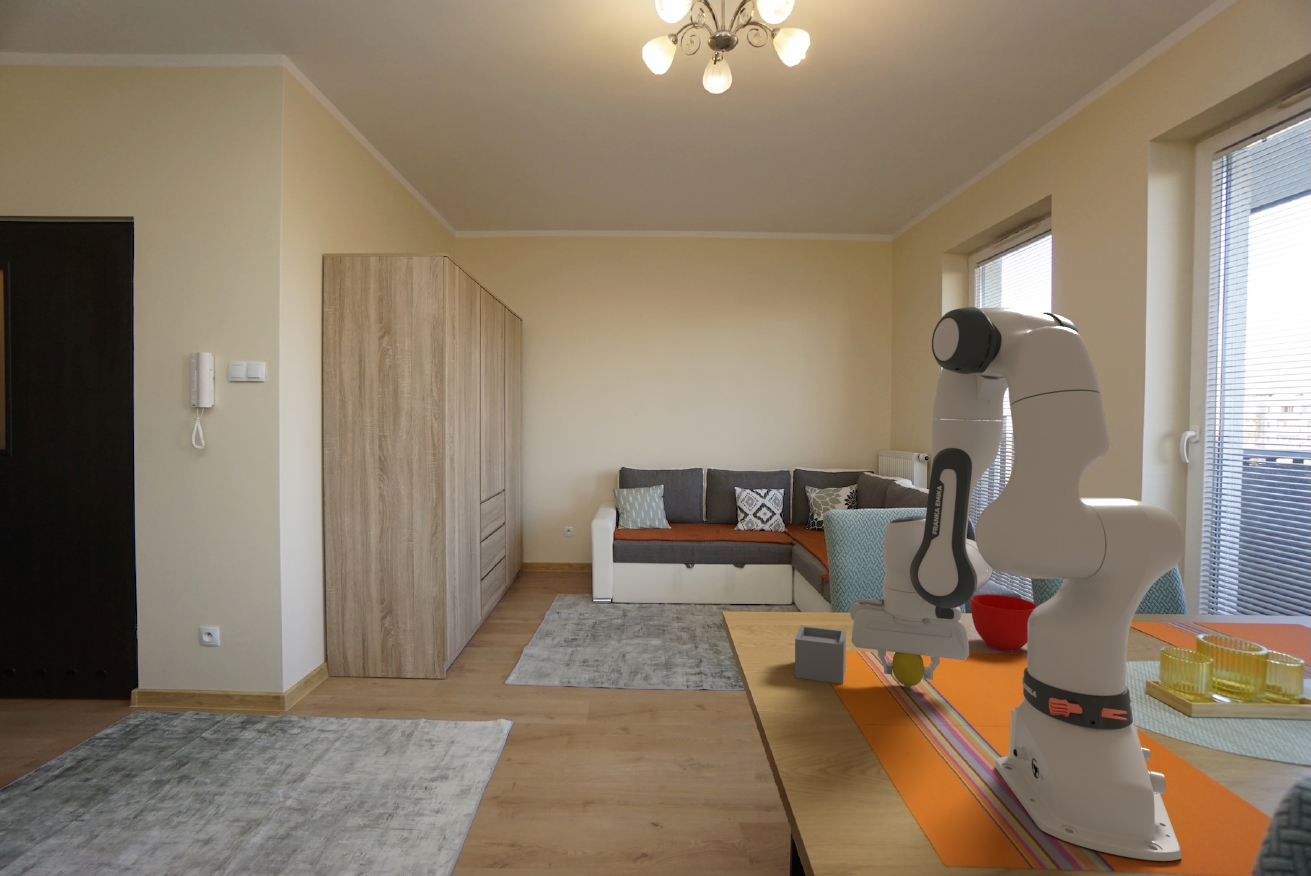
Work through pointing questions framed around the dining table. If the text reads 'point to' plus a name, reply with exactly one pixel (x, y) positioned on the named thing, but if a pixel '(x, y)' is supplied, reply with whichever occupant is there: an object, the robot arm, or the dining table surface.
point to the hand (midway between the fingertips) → (908, 675)
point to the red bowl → (1002, 620)
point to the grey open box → (820, 654)
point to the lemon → (908, 668)
